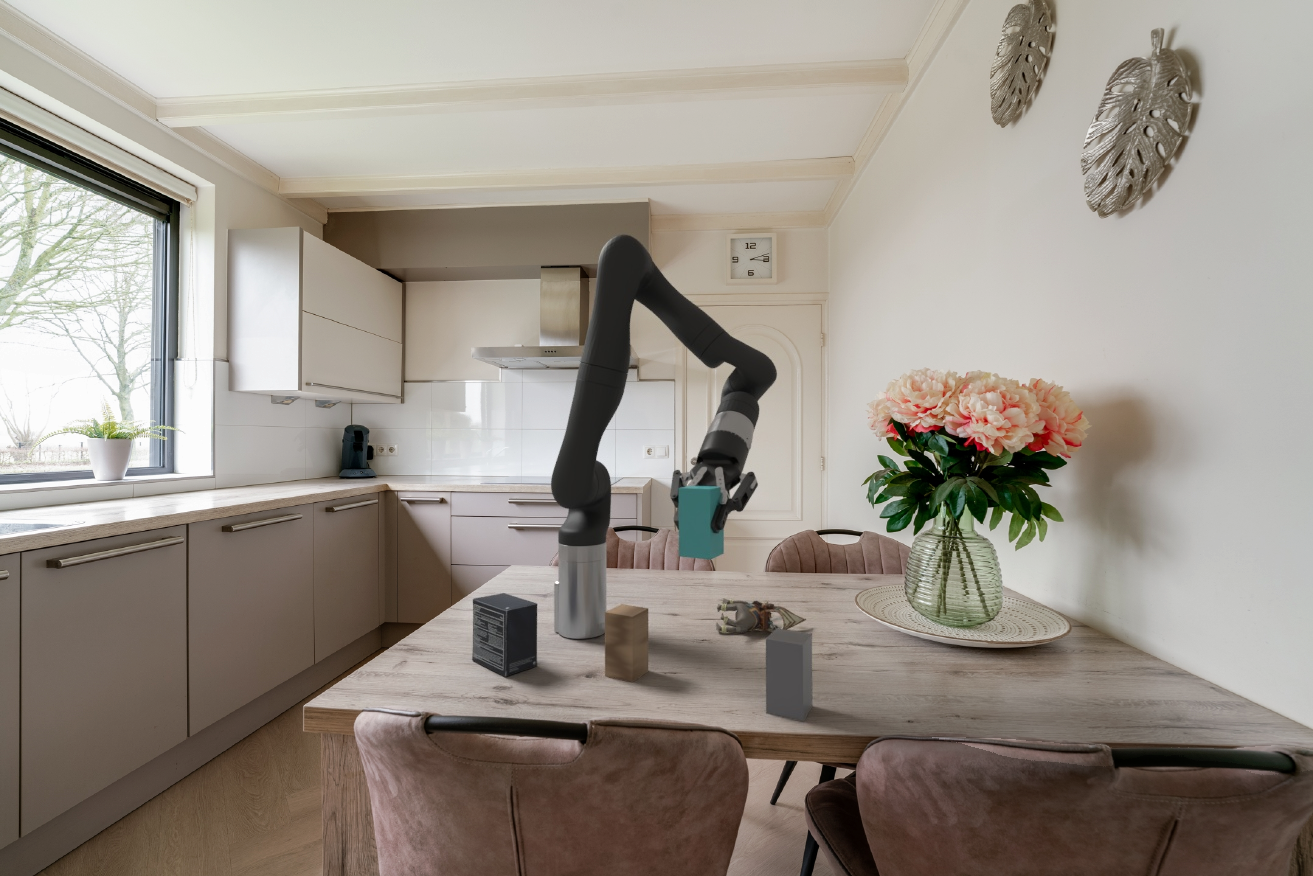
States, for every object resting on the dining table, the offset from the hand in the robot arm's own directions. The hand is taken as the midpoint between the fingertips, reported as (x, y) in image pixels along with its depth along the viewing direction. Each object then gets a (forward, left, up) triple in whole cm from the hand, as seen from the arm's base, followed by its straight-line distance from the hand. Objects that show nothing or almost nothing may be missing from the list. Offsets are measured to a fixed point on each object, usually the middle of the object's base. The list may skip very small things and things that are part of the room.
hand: (696, 528), depth 83 cm
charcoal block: (+13, +2, -24) cm, 27 cm away
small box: (-33, -4, -24) cm, 41 cm away
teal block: (0, +2, -4) cm, 5 cm away
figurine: (-1, +32, -25) cm, 41 cm away
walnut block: (-13, +2, -24) cm, 27 cm away
